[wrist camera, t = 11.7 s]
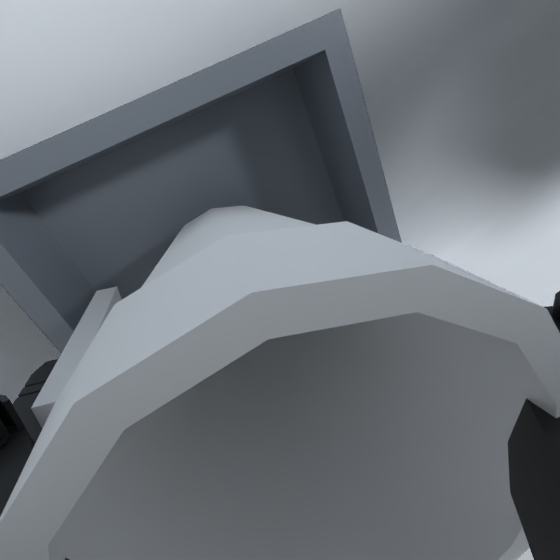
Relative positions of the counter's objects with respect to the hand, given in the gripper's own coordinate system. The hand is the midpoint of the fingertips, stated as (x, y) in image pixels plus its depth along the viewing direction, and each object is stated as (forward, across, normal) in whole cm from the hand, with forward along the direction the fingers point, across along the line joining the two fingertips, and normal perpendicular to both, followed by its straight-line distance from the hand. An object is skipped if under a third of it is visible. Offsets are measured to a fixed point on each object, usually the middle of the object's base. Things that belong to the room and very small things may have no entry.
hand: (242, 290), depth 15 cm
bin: (+6, 0, 0) cm, 6 cm away
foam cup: (+3, 0, 0) cm, 3 cm away
